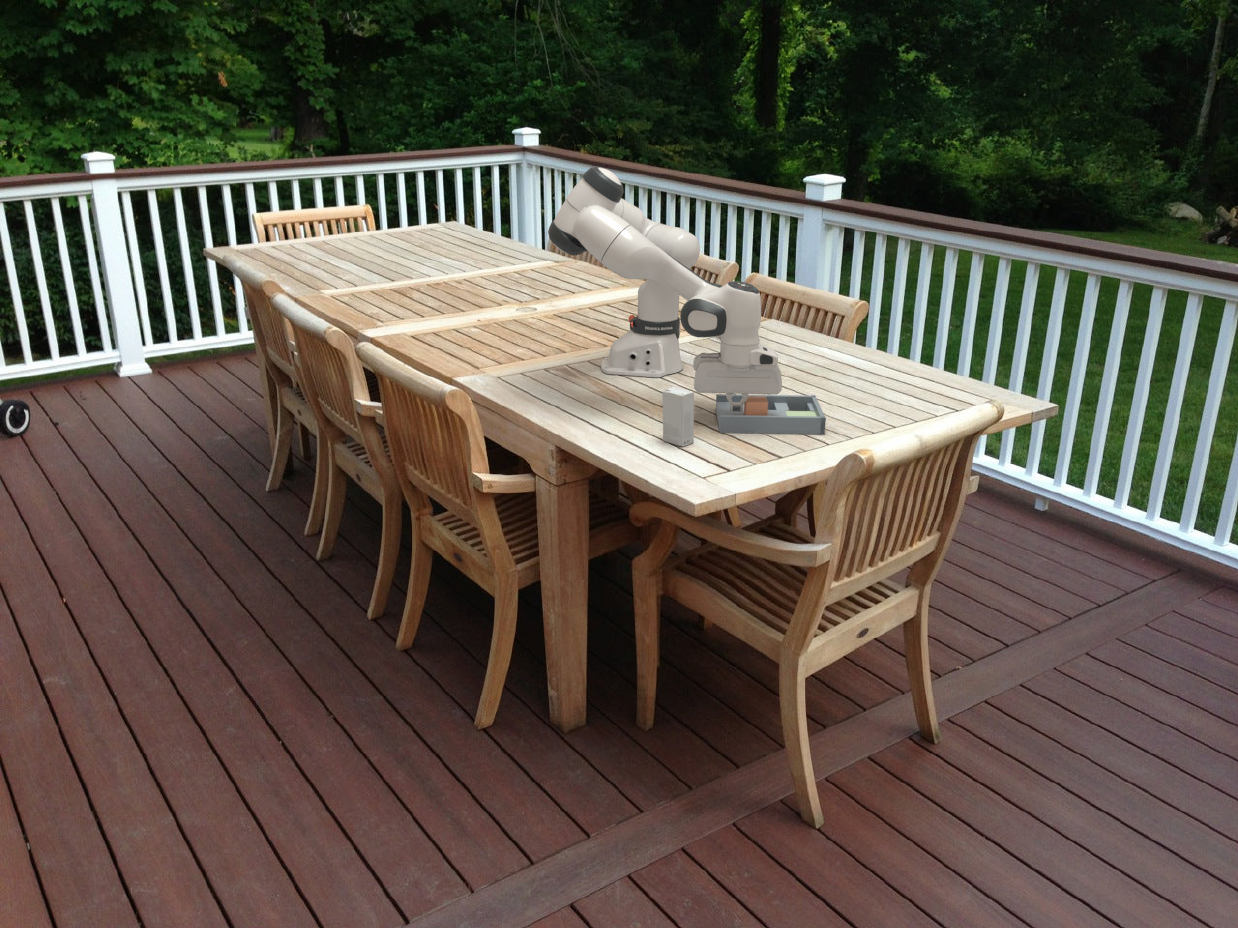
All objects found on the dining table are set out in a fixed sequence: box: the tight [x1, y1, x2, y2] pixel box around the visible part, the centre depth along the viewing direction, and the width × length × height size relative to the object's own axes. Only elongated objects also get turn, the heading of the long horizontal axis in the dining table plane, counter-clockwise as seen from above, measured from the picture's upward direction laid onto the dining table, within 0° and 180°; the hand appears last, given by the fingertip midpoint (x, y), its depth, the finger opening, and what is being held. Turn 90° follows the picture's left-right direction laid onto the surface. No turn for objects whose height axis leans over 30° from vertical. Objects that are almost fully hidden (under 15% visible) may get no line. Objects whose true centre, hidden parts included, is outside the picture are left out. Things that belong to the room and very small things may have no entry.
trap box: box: [715, 393, 827, 435], centre depth 258 cm, size 24×17×4 cm
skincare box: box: [661, 386, 695, 447], centre depth 243 cm, size 6×4×12 cm
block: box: [744, 396, 768, 416], centre depth 255 cm, size 5×5×4 cm
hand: (736, 410), depth 255 cm, fingers closed
